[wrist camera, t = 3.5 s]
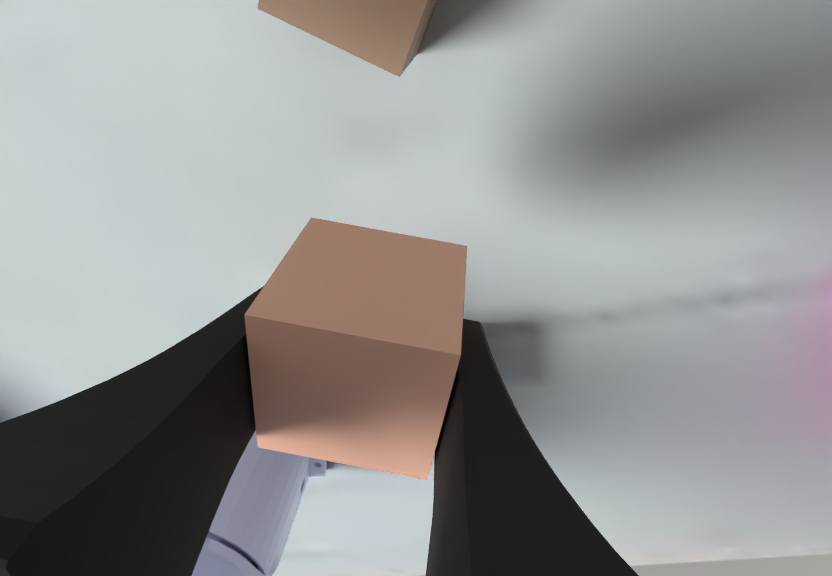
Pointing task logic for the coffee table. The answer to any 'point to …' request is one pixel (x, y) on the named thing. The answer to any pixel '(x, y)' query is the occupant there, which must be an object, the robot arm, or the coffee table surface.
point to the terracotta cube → (357, 347)
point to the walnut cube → (361, 26)
